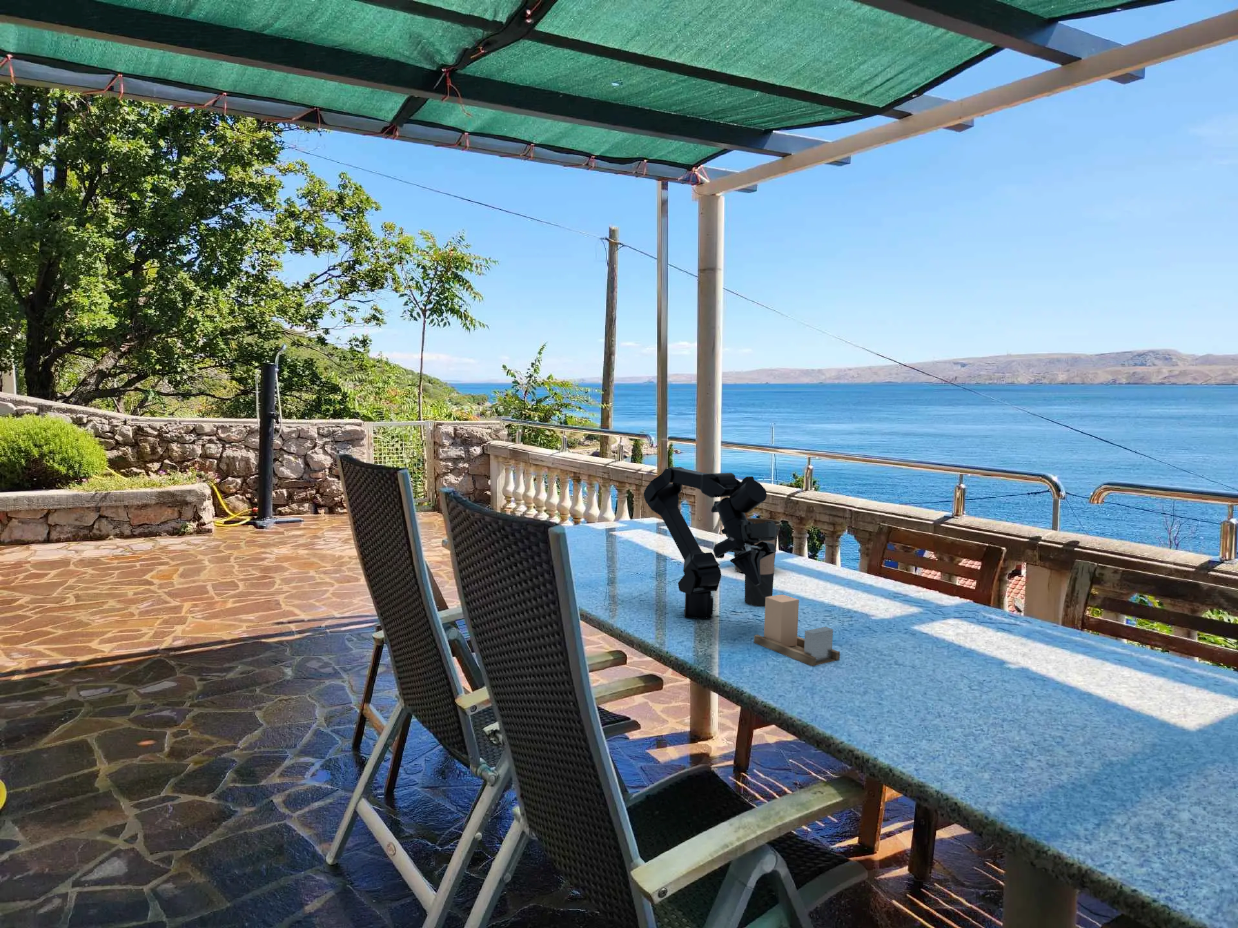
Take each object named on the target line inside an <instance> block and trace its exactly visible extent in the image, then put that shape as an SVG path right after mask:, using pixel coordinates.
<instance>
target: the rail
mask: <svg viewBox="0 0 1238 928" xmlns="http://www.w3.org/2000/svg"><path fill="white" fill-rule="evenodd" d="M753 643H754V644H756V645H758V646H761V647H764V648H766V649H768V650H772V651H773V652H775V653H779V654H780V655H783V656H786V657H788V658H790V659H792V660H795V661H798V662H800V663H802V664H805V665H808V666H810V667H815V666H819V665H823V664H828V663H832V662H835V661H840V657H841V652H840V651H838V650H835V649H834V648H832V659H828V660H824V661H819V662H816V657H813V656H811V655H808V654H806V653H804V643H805V638H803V637H800V636H798V635H797V645H795V646H790V647H788V646H785V645H783V644H780V643H778V642H775V641H773V640H770V639H767V638H765V637H764V636H762V635H759V634H755V635H753Z"/></svg>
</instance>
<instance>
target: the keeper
mask: <svg viewBox="0 0 1238 928" xmlns="http://www.w3.org/2000/svg"><path fill="white" fill-rule="evenodd" d="M799 604H800V599H798V598H795V597H791V596H788V595H785V594H777V595H772V596H769V597H766V598H765V607H764V625H763V626H764V627H763V628H764V631H763V637H765V638H767V639H770V640H773V641H775V642H778V643H780V644H783V645H785V646H788V647H790V646H795V645H797V636H798V627H799V608H800V607H799Z"/></svg>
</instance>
